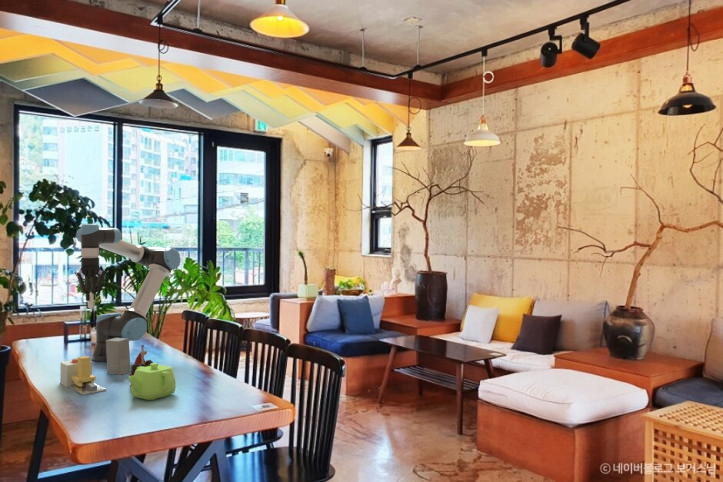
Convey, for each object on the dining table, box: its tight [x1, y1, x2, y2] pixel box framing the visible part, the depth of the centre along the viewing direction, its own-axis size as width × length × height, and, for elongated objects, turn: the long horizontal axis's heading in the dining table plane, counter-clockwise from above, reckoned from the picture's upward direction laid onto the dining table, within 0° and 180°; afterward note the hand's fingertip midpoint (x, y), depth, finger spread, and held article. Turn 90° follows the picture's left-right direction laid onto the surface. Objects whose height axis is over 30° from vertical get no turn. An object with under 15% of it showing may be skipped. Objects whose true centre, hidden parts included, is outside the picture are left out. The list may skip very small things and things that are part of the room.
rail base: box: [68, 382, 107, 396], centre depth 226 cm, size 9×15×3 cm, turn 47°
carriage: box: [72, 355, 97, 387], centre depth 229 cm, size 7×7×11 cm
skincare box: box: [106, 338, 131, 376], centre depth 253 cm, size 8×7×16 cm
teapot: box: [127, 362, 177, 401], centre depth 216 cm, size 18×20×13 cm
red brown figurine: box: [129, 344, 154, 389], centre depth 230 cm, size 11×9×18 cm
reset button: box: [71, 357, 78, 364], centre depth 235 cm, size 3×3×5 cm
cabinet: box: [59, 360, 93, 388], centre depth 235 cm, size 10×8×9 cm
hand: (90, 307), depth 257 cm, fingers closed
